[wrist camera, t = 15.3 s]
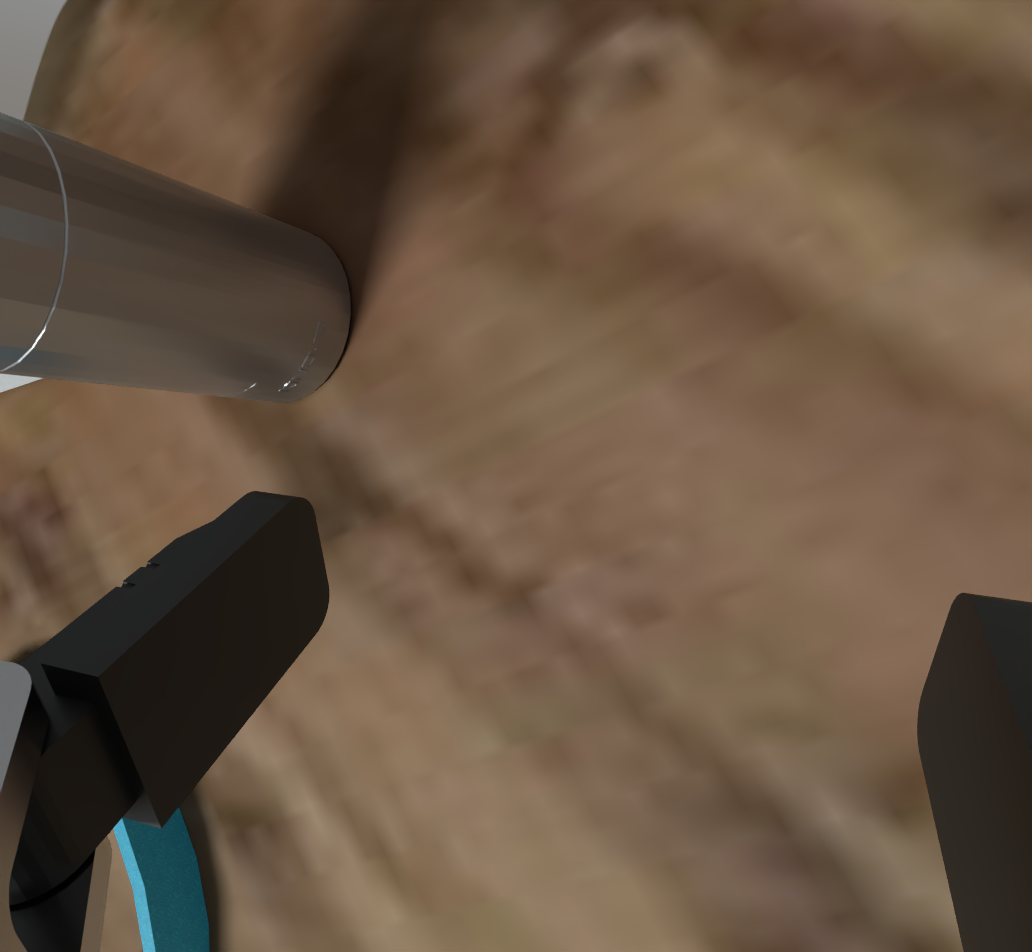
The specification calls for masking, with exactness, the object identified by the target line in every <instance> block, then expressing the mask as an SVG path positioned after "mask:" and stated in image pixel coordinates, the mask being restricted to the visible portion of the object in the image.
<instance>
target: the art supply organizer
mask: <svg viewBox="0 0 1032 952" xmlns="http://www.w3.org/2000/svg"><path fill="white" fill-rule="evenodd" d="M113 829H114V832H115V835H116V838H117V841H118V845H119V848H120V851H121V854H122V857H123V860H124V863H125V866H126V869H127V872H128V875H129V878H130V881H131V884H132V888H133V892H134V898H135V904H136V910H137V916H138V922H139V928H140V934H141V940H142V946H143V951H144V952H209V923H208V917H207V912H206V906H205V901H204V895H203V890H202V884H201V878H200V873H199V867H198V862H197V857H196V854H195V851H194V848H193V845H192V843H191V840H190V837H189V834H188V831H187V828H186V825H185V823H184V820H183V817H182V814H181V811H180V808H179V807H178V809H177V810H176V811H175V812H174V814H173V815H172V816H171V817H170V819H169V820H168V821H167V823H166V824H165V825H164V826H163V828H162V829H161V828H157V827H154V826H151V825H147V824H144V823H141V822H137V821H134V820H130V819H127V818H124V817H122V819H121V820H120V821H119V822H118V823H117V824H116V826H115V827H114V828H113Z"/></svg>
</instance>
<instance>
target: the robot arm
mask: <svg viewBox="0 0 1032 952" xmlns="http://www.w3.org/2000/svg"><path fill="white" fill-rule="evenodd" d="M350 317H351V303H350V292H349V287H348V281H347V277H346V275H345V272H344V269H343V267H342V264H341V262H340V260H339V259H338V257H337V256H336V254H335V253H334V251H333V250H332V248H331V247H329V246H328V245H327V244H326V243H325V242H324V241H323V240H322V239H321V238H319V237H317V236H315V235H313V234H311V233H309V232H307V231H304V230H302V229H299V228H296V227H294V226H291V225H289V224H286V223H284V222H281V221H279V220H276V219H273V218H271V217H268V216H266V215H263V214H261V213H258V212H256V211H253V210H251V209H249V208H246V207H244V206H241V205H238V204H236V203H233V202H231V201H228V200H226V199H223V198H220V197H218V196H215V195H213V194H210V193H208V192H205V191H202V190H200V189H197V188H195V187H192V186H190V185H187V184H184V183H182V182H179V181H177V180H174V179H172V178H169V177H166V176H164V175H161V174H159V173H156V172H154V171H151V170H148V169H146V168H143V167H141V166H138V165H136V164H133V163H130V162H128V161H125V160H123V159H120V158H118V157H115V156H112V155H110V154H107V153H105V152H102V151H100V150H97V149H94V148H92V147H89V146H87V145H84V144H82V143H79V142H76V141H74V140H71V139H69V138H66V137H64V136H61V135H58V134H56V133H53V132H51V131H48V130H46V129H43V128H40V127H38V126H35V125H33V124H30V123H28V122H25V121H22V120H19V119H16V118H14V117H11V116H8V115H6V114H3V113H1V112H0V374H9V375H18V376H28V377H38V378H48V379H57V380H67V381H77V382H87V383H96V384H106V385H116V386H126V387H135V388H145V389H155V390H164V391H174V392H184V393H194V394H203V395H213V396H221V397H231V398H241V399H252V400H262V401H272V402H291V401H295V400H300V399H301V398H303V397H305V396H307V395H309V394H311V393H313V392H314V391H315V390H316V389H317V388H318V387H319V386H321V385H322V384H323V383H324V382H325V381H326V379H327V378H328V377H329V375H330V374H331V373H332V371H333V370H334V369H335V367H336V365H337V363H338V361H339V359H340V357H341V355H342V353H343V349H344V346H345V343H346V340H347V336H348V332H349V324H350ZM328 604H329V584H328V579H327V574H326V569H325V564H324V559H323V553H322V548H321V543H320V538H319V533H318V527H317V522H316V517H315V513H314V509H313V507H312V505H311V504H310V502H309V501H308V500H307V499H305V498H301V497H294V496H287V495H280V494H273V493H266V492H259V491H253V492H250V493H247V494H246V495H244V496H243V497H242V498H241V499H239V500H238V501H237V502H236V503H234V504H233V505H232V506H231V507H230V508H228V509H227V510H226V511H225V512H224V513H222V514H221V515H220V516H219V517H217V518H216V519H215V520H214V521H212V522H210V523H208V524H206V525H204V526H201V527H199V528H197V529H195V530H193V531H191V532H189V533H187V534H185V535H183V536H181V537H179V538H177V539H175V540H174V541H173V542H171V543H170V544H169V545H168V546H166V547H165V548H164V549H163V550H161V551H160V552H159V553H158V554H156V555H155V556H154V557H153V558H151V559H150V560H149V561H148V562H147V566H146V567H140V568H139V569H138V570H136V571H135V572H134V573H133V574H131V575H130V576H129V577H128V578H126V579H125V580H124V581H123V585H122V587H115V588H114V589H113V590H111V591H110V592H109V593H108V594H107V595H105V596H104V597H103V598H102V599H100V600H99V601H98V602H97V603H95V604H94V605H93V606H92V607H90V608H89V609H88V610H87V611H85V612H84V613H83V614H82V615H80V616H79V617H78V618H77V619H75V620H74V621H73V622H72V623H70V624H69V625H68V626H67V627H65V628H64V629H63V630H62V631H60V632H59V633H58V634H57V635H55V636H54V637H53V638H52V639H50V640H49V641H48V642H47V643H45V644H44V645H43V646H42V647H40V648H39V649H38V650H37V651H35V652H34V653H33V654H32V655H30V656H29V657H28V658H27V659H25V660H24V661H23V662H21V663H20V664H19V665H18V664H16V663H12V662H7V661H0V952H100V947H101V939H102V931H103V923H104V915H105V907H106V899H107V891H108V883H109V875H110V867H111V859H112V848H111V844H110V841H109V839H108V837H107V835H108V834H109V833H110V831H111V830H112V829H113V828H114V827H115V826H116V824H117V823H118V822H119V821H120V820H121V819H122V817H124V818H127V819H130V820H134V821H137V822H141V823H144V824H147V825H151V826H154V827H157V828H161V829H162V828H163V826H164V825H165V824H166V823H167V821H168V820H169V819H170V817H171V816H172V815H173V814H174V812H175V811H176V810H177V809H178V807H179V806H180V805H181V804H182V802H183V801H184V800H185V799H186V797H187V796H188V795H189V793H190V792H191V791H192V790H193V788H194V787H195V786H196V785H197V783H198V782H199V781H200V780H201V778H202V777H203V776H204V775H205V773H206V772H207V771H208V770H209V768H210V767H211V766H212V764H213V763H214V762H215V761H216V759H217V758H218V757H219V756H220V754H221V753H222V752H223V751H224V749H225V748H226V747H227V746H228V744H229V743H230V742H231V741H232V739H233V738H234V737H235V735H236V734H237V733H238V732H239V730H240V729H241V728H242V727H243V725H244V724H245V723H246V722H247V720H248V719H249V718H250V717H251V715H252V714H253V713H254V712H255V710H256V709H257V708H258V706H259V705H260V704H261V703H262V701H263V700H264V699H265V698H266V696H267V695H268V694H269V693H270V691H271V690H272V689H273V688H274V686H275V685H276V684H277V683H278V681H279V680H280V679H281V677H282V676H283V675H284V674H285V672H286V671H287V670H288V669H289V667H290V666H291V665H292V664H293V662H294V661H295V660H296V659H297V657H298V656H299V655H300V653H301V652H302V651H303V650H304V648H305V647H306V646H307V645H308V643H309V642H310V641H311V640H312V638H313V637H314V636H315V635H316V633H317V632H318V630H319V629H320V627H321V625H322V623H323V621H324V619H325V616H326V613H327V609H328ZM917 735H918V747H919V753H920V758H921V762H922V766H923V771H924V775H925V780H926V784H927V789H928V793H929V798H930V802H931V807H932V811H933V816H934V820H935V825H936V829H937V834H938V838H939V843H940V847H941V852H942V856H943V861H944V865H945V870H946V874H947V879H948V883H949V888H950V892H951V897H952V901H953V906H954V910H955V915H956V919H957V924H958V928H959V933H960V937H961V942H962V946H963V950H964V952H1032V602H1025V601H1018V600H1010V599H1003V598H996V597H989V596H982V595H975V594H968V593H961V594H959V595H958V596H957V597H956V598H955V600H954V601H953V603H952V605H951V608H950V611H949V614H948V617H947V620H946V623H945V626H944V629H943V632H942V634H941V637H940V640H939V643H938V646H937V649H936V652H935V655H934V658H933V661H932V664H931V667H930V670H929V673H928V676H927V679H926V682H925V685H924V688H923V691H922V695H921V699H920V704H919V710H918V723H917Z"/></svg>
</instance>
